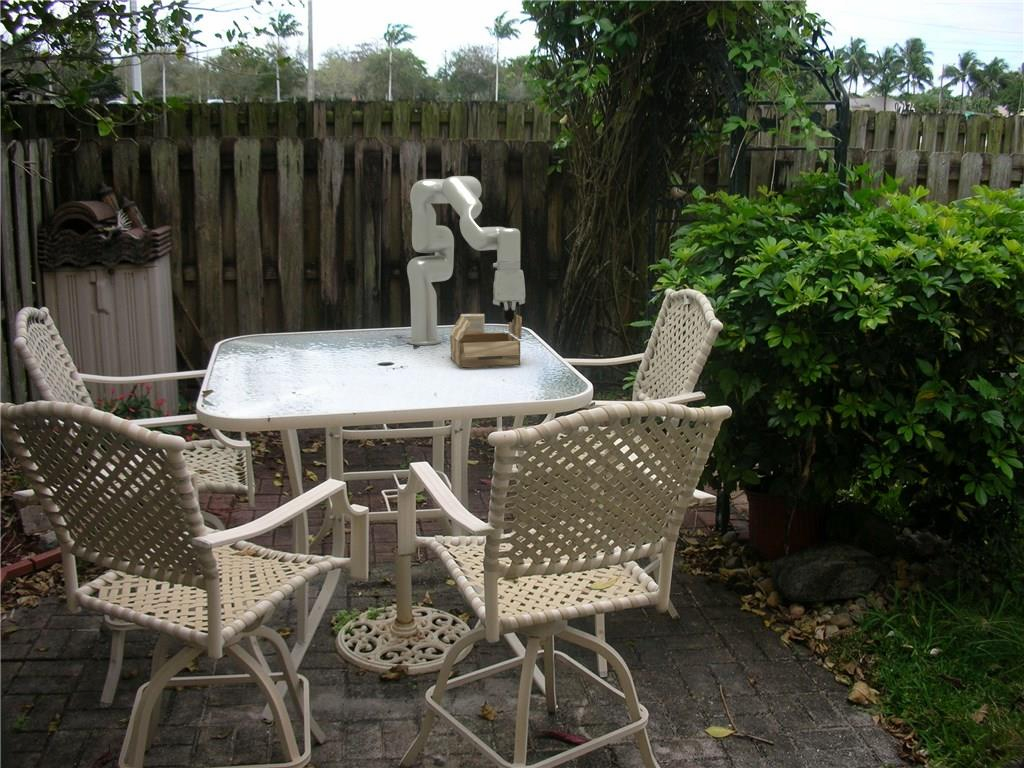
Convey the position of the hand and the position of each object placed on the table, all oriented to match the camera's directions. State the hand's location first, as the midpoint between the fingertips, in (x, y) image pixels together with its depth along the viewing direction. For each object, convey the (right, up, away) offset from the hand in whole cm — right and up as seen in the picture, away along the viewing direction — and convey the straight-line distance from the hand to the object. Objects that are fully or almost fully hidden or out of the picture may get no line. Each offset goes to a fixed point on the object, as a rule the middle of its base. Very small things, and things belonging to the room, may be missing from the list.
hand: (509, 321), depth 321 cm
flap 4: (+2, -5, +2) cm, 5 cm away
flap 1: (-18, -6, -3) cm, 19 cm away
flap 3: (-6, -7, -9) cm, 13 cm away
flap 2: (-10, -3, +8) cm, 13 cm away
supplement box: (-13, -9, +20) cm, 26 cm away
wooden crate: (-8, -13, +1) cm, 16 cm away
